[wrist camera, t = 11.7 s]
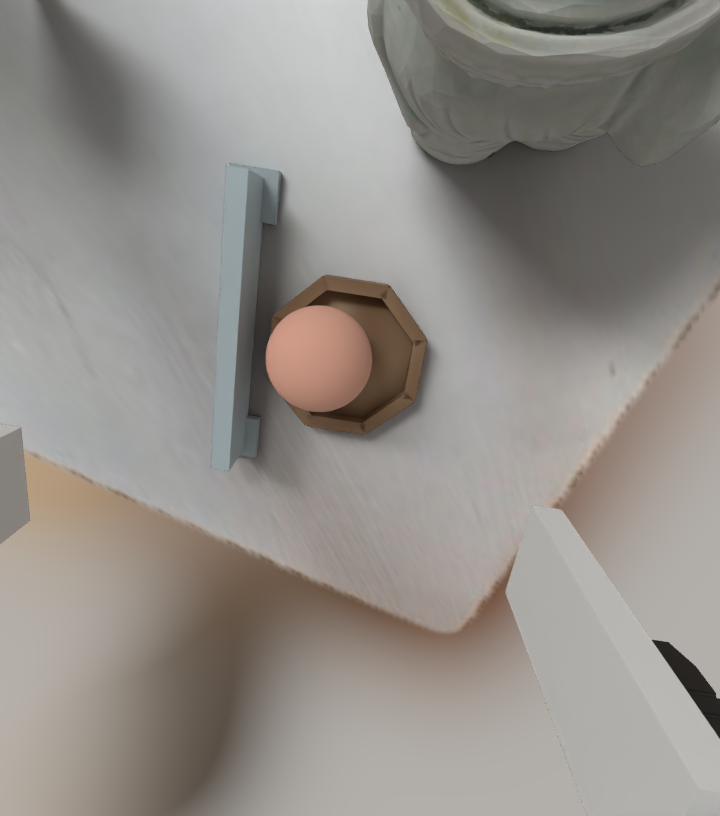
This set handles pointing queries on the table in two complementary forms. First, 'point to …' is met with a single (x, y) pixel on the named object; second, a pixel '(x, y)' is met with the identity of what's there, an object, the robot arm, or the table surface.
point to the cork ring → (390, 344)
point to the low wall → (239, 308)
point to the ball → (318, 358)
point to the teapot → (551, 73)
